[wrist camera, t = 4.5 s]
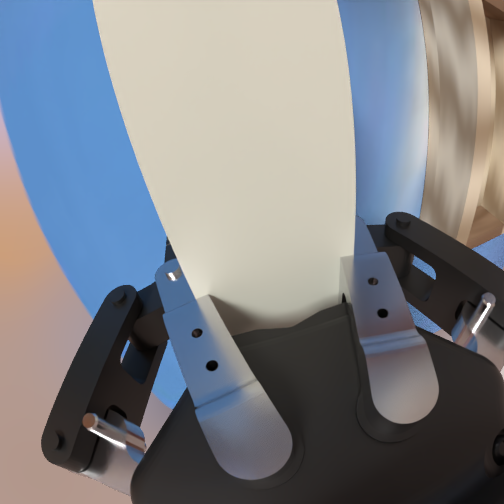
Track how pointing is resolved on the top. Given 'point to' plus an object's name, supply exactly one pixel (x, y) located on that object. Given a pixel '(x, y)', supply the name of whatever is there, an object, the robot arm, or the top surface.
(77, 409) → the robot arm
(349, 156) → the strip
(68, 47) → the top surface
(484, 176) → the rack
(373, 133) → the top surface
